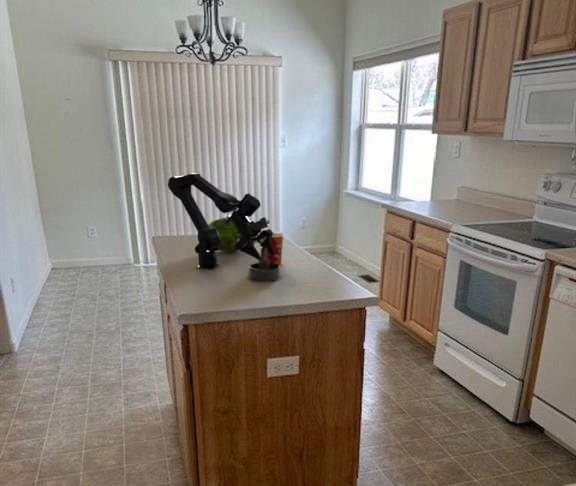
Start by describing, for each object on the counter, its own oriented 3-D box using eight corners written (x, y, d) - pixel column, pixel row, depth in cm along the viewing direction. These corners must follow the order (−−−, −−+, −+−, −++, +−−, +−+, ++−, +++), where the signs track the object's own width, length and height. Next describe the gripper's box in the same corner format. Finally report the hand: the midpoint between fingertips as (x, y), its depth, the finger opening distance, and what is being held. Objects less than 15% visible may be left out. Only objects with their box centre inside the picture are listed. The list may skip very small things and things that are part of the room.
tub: (244, 279, 202) (244, 268, 201) (255, 272, 213) (255, 261, 211) (273, 282, 199) (274, 271, 198) (282, 275, 210) (283, 263, 208)
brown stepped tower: (254, 276, 205) (253, 248, 201) (262, 273, 209) (262, 245, 205) (266, 279, 202) (266, 250, 198) (274, 275, 207) (274, 247, 203)
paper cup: (281, 268, 219) (281, 234, 214) (263, 266, 220) (263, 233, 215) (285, 263, 226) (285, 230, 221) (267, 262, 228) (267, 229, 222)
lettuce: (267, 252, 245) (268, 218, 239) (211, 256, 236) (209, 221, 230) (257, 245, 258) (257, 213, 252) (203, 249, 248) (201, 215, 243)
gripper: (240, 214, 191) (266, 248, 190) (269, 207, 206) (293, 239, 205) (223, 233, 198) (248, 266, 197) (252, 226, 213) (275, 257, 211)
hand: (267, 256), depth 202 cm, fingers open, 9 cm apart
